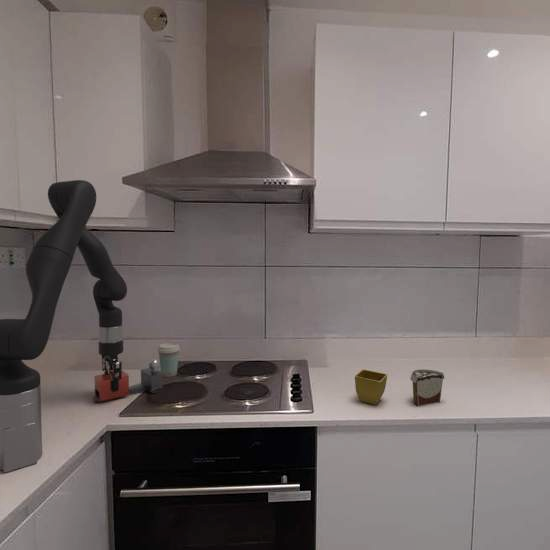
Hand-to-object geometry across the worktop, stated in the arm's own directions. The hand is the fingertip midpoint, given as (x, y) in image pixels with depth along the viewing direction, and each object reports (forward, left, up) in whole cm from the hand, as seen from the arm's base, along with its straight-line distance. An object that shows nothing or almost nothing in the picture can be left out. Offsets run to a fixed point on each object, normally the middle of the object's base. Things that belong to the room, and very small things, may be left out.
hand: (111, 387), depth 120 cm
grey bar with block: (0, -5, -3) cm, 6 cm away
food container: (-67, -80, -4) cm, 105 cm away
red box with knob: (0, 0, -2) cm, 2 cm away
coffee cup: (+10, -24, -4) cm, 27 cm away
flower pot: (-56, -66, -4) cm, 87 cm away
